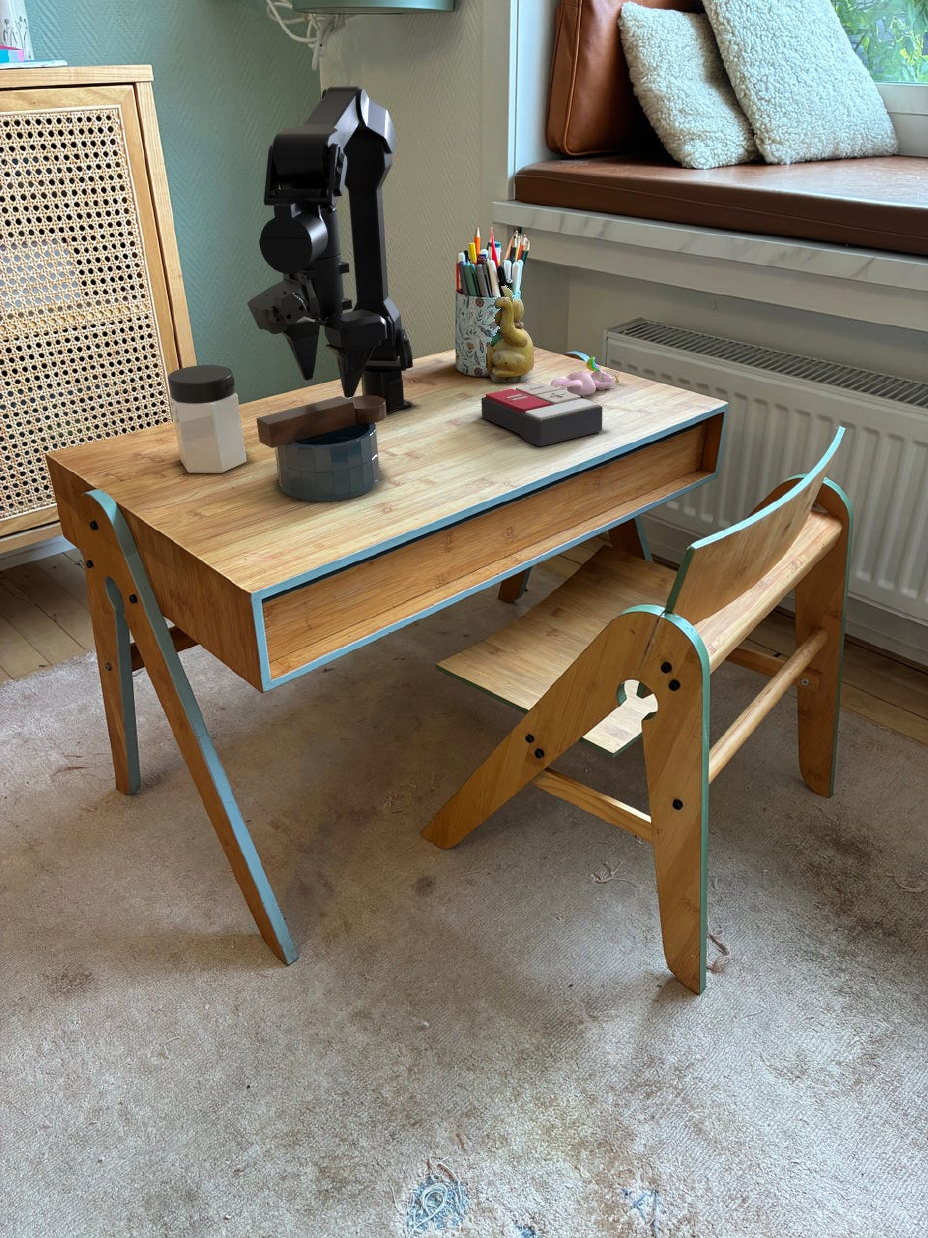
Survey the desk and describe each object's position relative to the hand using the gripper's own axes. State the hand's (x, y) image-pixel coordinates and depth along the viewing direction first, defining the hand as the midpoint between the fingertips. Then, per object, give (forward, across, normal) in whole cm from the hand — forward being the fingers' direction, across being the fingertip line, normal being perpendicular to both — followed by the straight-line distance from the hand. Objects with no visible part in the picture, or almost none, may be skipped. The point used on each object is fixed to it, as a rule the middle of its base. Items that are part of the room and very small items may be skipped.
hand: (328, 388), depth 120 cm
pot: (+12, +1, -2) cm, 12 cm away
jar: (+12, -15, -10) cm, 22 cm away
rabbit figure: (+12, -1, +46) cm, 48 cm away
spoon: (+5, +1, -1) cm, 5 cm away
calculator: (+12, +4, +32) cm, 35 cm away
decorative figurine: (+12, -16, +44) cm, 49 cm away
